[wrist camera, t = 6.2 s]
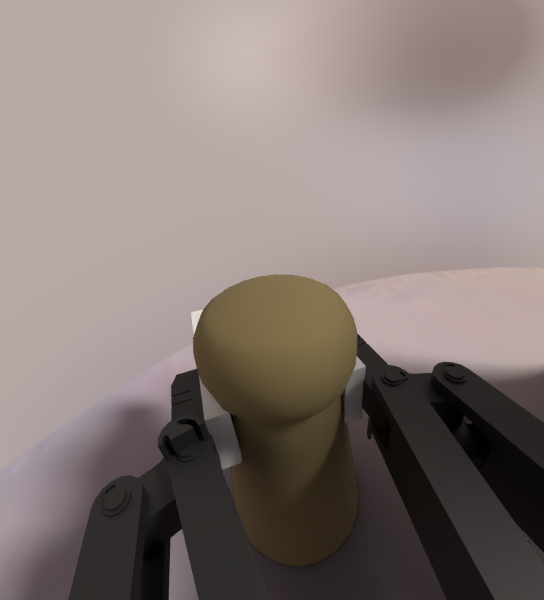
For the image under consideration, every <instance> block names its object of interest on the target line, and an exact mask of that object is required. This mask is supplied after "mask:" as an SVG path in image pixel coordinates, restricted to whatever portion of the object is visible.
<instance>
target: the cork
mask: <svg viewBox="0 0 544 600" xmlns="http://www.w3.org/2000/svg"><path fill="white" fill-rule="evenodd" d="M193 353H194V358H195V362H196V366H197V370H198V373H199V376H200V379H201V381H202V384H203V385H204V386H205V388H206V389H207V390H208V391H209V393H210V394H211V395H212V396H213V397H214V399H215V400H216V401H217V402H218V403H219V405H220V406H221V407H222V408H223V409H224V410H225V411H227V412H229V413H230V414H231V418H232V422H233V425H234V429H235V433H236V436H237V440H238V444H239V447H240V451H241V457H242V463H239V464H237V465H234V466H231V471H232V481H233V491H234V501H235V506H236V509H237V511H238V514H239V516H240V519H241V521H242V524H243V526H244V529H245V531H246V534H247V536H248V539H249V541H250V542H251V544H252V545H253V546H254V547H255V548H256V549H258V550H259V551H260V552H261V553H263V554H264V555H265V556H266V557H268V558H269V559H270V560H273V561H276V562H280V563H283V564H286V565H290V566H300V565H309V564H316V563H318V562H320V561H321V560H323V559H325V558H326V557H328V556H330V555H332V554H333V553H335V552H336V551H337V550H338V549H339V548H340V546H341V545H342V544H343V542H344V541H345V540H346V539H347V537H348V536H349V535H350V533H351V530H352V527H353V524H354V521H355V518H356V515H357V512H358V487H357V481H356V475H355V470H354V464H353V458H352V452H351V447H350V441H349V435H348V429H347V424H346V423H345V418H344V410H343V402H342V393H343V391H344V389H345V387H346V385H347V383H348V381H349V379H350V377H351V375H352V372H353V370H354V368H355V365H356V356H357V330H356V326H355V322H354V318H353V316H352V314H351V313H350V311H349V309H348V307H347V305H346V304H345V302H344V301H343V300H342V298H341V297H340V296H339V294H338V293H337V292H335V291H334V290H333V289H331V288H330V287H329V286H327V285H325V284H322V283H320V282H318V281H315V280H313V279H310V278H306V277H301V276H294V275H269V276H261V277H256V278H253V279H249V280H245V281H242V282H240V283H238V284H236V285H233V286H231V287H229V288H228V289H226V290H224V291H223V292H222V293H220V294H219V295H217V296H216V297H215V298H213V299H212V300H211V301H210V302H209V303H208V305H207V306H206V307H205V308H204V309H203V311H202V313H201V316H200V318H199V321H198V323H197V327H196V330H195V334H194V337H193Z"/></svg>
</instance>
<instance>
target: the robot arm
mask: <svg viewBox="0 0 544 600" xmlns="http://www.w3.org/2000/svg"><path fill="white" fill-rule="evenodd" d="M202 311H203V309H202V310H198V311H195V312H191V316H192V323H193V332H194V334H195V330H196V327H197V323H198V321H199V318H200V316H201V313H202ZM171 396H172V398H171V403H172V421H171V422H169V423H168V424H167V425H166V426H165V427H164V428H163V430H162V431H161V433H160V436H159V438H158V447H159V449H160V451H161V453H162V455H163V456H164V458H163V459H162V460H161V462H160V463H159V464H157V465H156V466H155V467H154V468H152V469H151V470H149V471H148V472H146V473H145V474H143V475H142V476H141V477H139V478H136V477H133V476H123V477H120V478H118V479H116V480H114V481H112V482H110V483H109V484H108V485H107V486H106V487H105V488H103V489H102V491H101V492H100V493H99V495H98V496H97V497H96V499H95V501H94V503H93V506H92V508H91V511H90V515H89V519H88V523H87V527H86V531H85V535H84V539H83V543H82V547H81V551H80V555H79V559H78V563H77V568H76V572H75V576H74V580H73V584H72V588H71V592H70V596H69V600H169V567H170V538H171V537H172V536H174V535H175V534H176V533H177V532H178V531H180V530H181V529H182V530H183V534H184V538H185V542H186V547H187V551H188V555H189V559H190V564H191V568H192V572H193V577H194V581H195V585H196V589H197V594H198V598H199V600H273V599H272V596H271V594H270V591H269V589H268V586H267V584H266V581H265V579H264V576H263V574H262V571H261V569H260V566H259V564H258V561H257V559H256V556H255V554H254V551H253V549H252V546H251V544H250V541H249V539H248V536H247V534H246V531H245V529H244V526H243V524H242V521H241V519H240V516H239V514H238V511H237V509H236V506H235V504H234V501H233V499H232V496H231V494H230V491H229V489H228V486H227V484H226V481H225V479H224V476H223V473H222V469H226V468H229V467H231V466H234V465H237V464H239V463H242V457H241V451H240V447H239V444H238V440H237V436H236V433H235V429H234V425H233V422H232V418H231V414H230V413H229V412H227V411H225V410H224V409H223V408H222V407H221V406H220V405H219V403H218V402H217V401H216V400H215V399H214V397H213V396H212V395H211V394H210V393H209V391H208V390H207V389H206V388H205V386H204V385H203V384H202V381H201V379H200V376H199V373H198V370H197V369H195V370H192V371H188V372H185V373H181V374H178V375H176V377H175V379H174V381H173V383H172V385H171ZM342 402H343V410H344V418H345V423H348V422H351V421H353V420H356V419H359V418H361V417H362V408H363V409H364V410H365V412H366V413H367V414H368V416H369V420H368V430H367V435H368V439H371V435H372V434H373V436H374V438H375V440H376V443H377V445H378V447H379V449H380V451H381V454H382V456H383V458H384V460H385V463H386V465H387V467H388V469H389V472H390V474H391V476H392V478H393V480H394V483H395V485H396V487H397V489H398V492H399V494H400V496H401V498H402V501H403V503H404V505H405V507H406V509H407V512H408V514H409V516H410V518H411V521H412V523H413V525H414V527H415V530H416V532H417V534H418V536H419V538H420V541H421V543H422V545H423V547H424V550H425V552H426V554H427V556H428V558H429V561H430V563H431V565H432V567H433V570H434V572H435V574H436V576H437V579H438V581H439V583H440V585H441V587H442V590H443V592H444V594H445V596H446V599H447V600H544V562H543V561H542V559H541V558H540V557H539V555H538V554H537V552H536V551H535V550H534V548H533V547H532V545H531V544H530V543H529V541H528V540H527V538H526V537H525V536H524V534H523V533H522V531H521V530H520V529H519V527H520V528H521V529H522V530H523V531H524V532H525V533H526V534H527V535H528V536H529V538H530V539H531V540H532V541H533V542H534V543H535V544H536V545H537V546H538V547H539V548H540V549H541V550H542V551H543V552H544V423H543V422H541V421H540V420H539V419H537V418H536V417H534V416H533V415H532V414H530V413H529V412H527V411H526V410H525V409H523V408H522V407H521V406H519V405H518V404H516V403H515V402H514V401H512V400H511V399H509V398H508V397H507V396H505V395H504V394H503V393H501V392H500V391H498V390H497V389H496V388H494V387H493V386H491V385H490V384H489V383H487V382H486V381H484V380H483V379H482V378H480V377H479V376H478V375H476V374H475V373H473V372H472V371H471V370H469V369H468V368H466V367H464V366H462V365H460V364H456V363H453V362H442V363H438V364H437V365H435V366H434V369H433V372H432V373H422V374H408V373H407V372H406V371H405V370H403V369H401V368H399V367H396V366H392V365H388V364H387V363H386V362H385V361H384V360H383V359H382V358H381V357H380V356H379V355H378V354H377V353H376V352H375V351H374V350H373V349H372V348H371V347H370V346H369V345H368V344H366V342H365V341H364V340H363V339H362V338H361V337H360V336H359V335H358V334H357V356H356V365H355V368H354V370H353V372H352V375H351V377H350V379H349V381H348V383H347V385H346V387H345V389H344V391H343V393H342ZM464 416H465V417H464ZM468 419H469V420H468ZM221 466H222V467H221ZM517 525H518V526H519V527H518V526H517Z"/></svg>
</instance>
